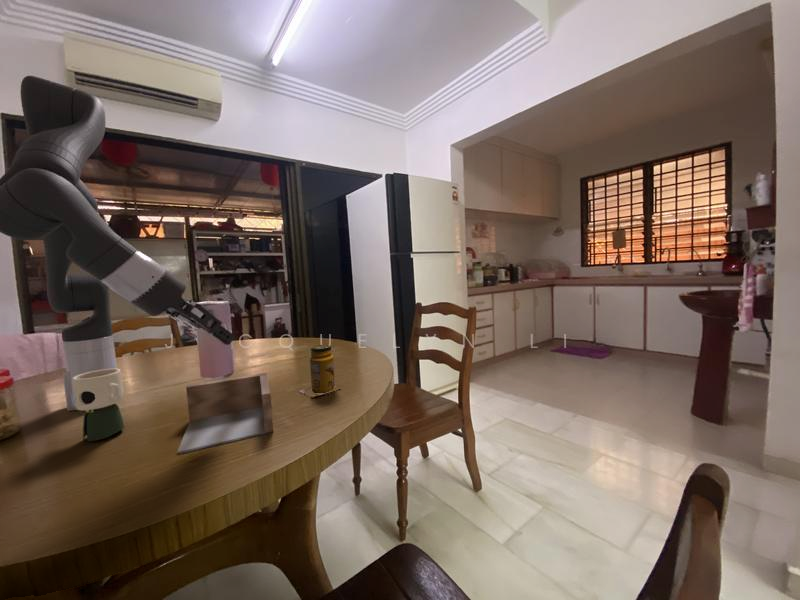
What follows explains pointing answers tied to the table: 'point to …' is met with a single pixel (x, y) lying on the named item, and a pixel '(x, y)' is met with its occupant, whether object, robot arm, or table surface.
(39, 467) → the table surface
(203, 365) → the beverage can
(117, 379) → the character mug
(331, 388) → the condiment
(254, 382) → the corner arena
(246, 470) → the table surface
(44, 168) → the robot arm
